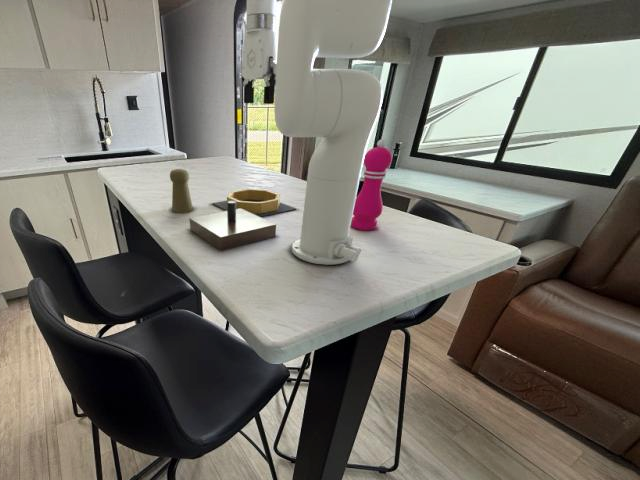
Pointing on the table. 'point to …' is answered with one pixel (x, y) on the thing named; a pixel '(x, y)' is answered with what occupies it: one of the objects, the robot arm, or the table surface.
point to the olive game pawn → (180, 191)
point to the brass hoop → (254, 194)
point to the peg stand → (232, 227)
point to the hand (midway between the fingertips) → (258, 103)
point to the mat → (281, 207)
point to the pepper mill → (371, 188)
